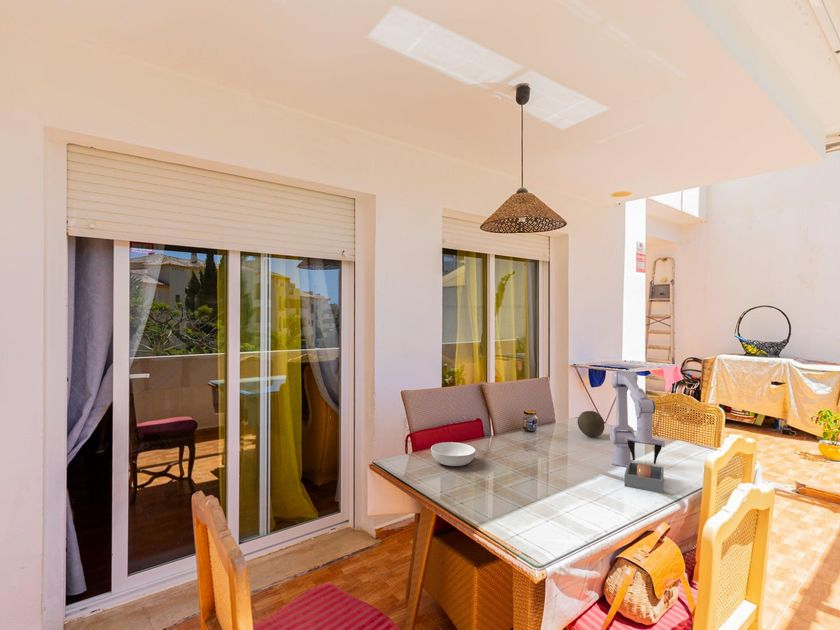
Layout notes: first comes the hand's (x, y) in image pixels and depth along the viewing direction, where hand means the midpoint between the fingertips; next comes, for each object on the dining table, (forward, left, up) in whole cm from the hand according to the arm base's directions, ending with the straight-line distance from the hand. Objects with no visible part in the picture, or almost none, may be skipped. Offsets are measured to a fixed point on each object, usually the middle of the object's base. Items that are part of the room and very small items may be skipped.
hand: (644, 461), depth 177 cm
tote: (-4, 0, -10) cm, 11 cm away
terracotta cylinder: (0, 0, -9) cm, 9 cm away
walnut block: (-7, 0, -9) cm, 11 cm away
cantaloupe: (-63, -31, -10) cm, 70 cm away
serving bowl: (+18, -79, -10) cm, 81 cm away
